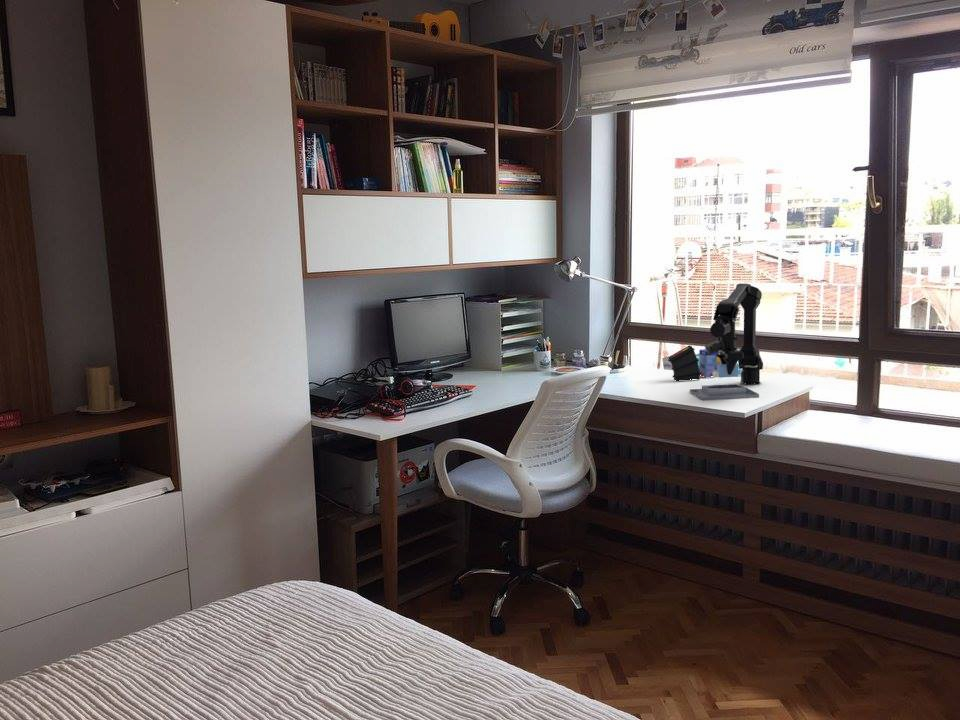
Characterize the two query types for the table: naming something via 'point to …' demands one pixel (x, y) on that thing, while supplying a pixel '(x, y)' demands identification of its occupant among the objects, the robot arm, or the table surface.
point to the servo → (725, 371)
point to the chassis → (723, 392)
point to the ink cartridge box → (708, 363)
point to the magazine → (685, 364)
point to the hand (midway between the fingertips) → (727, 373)
